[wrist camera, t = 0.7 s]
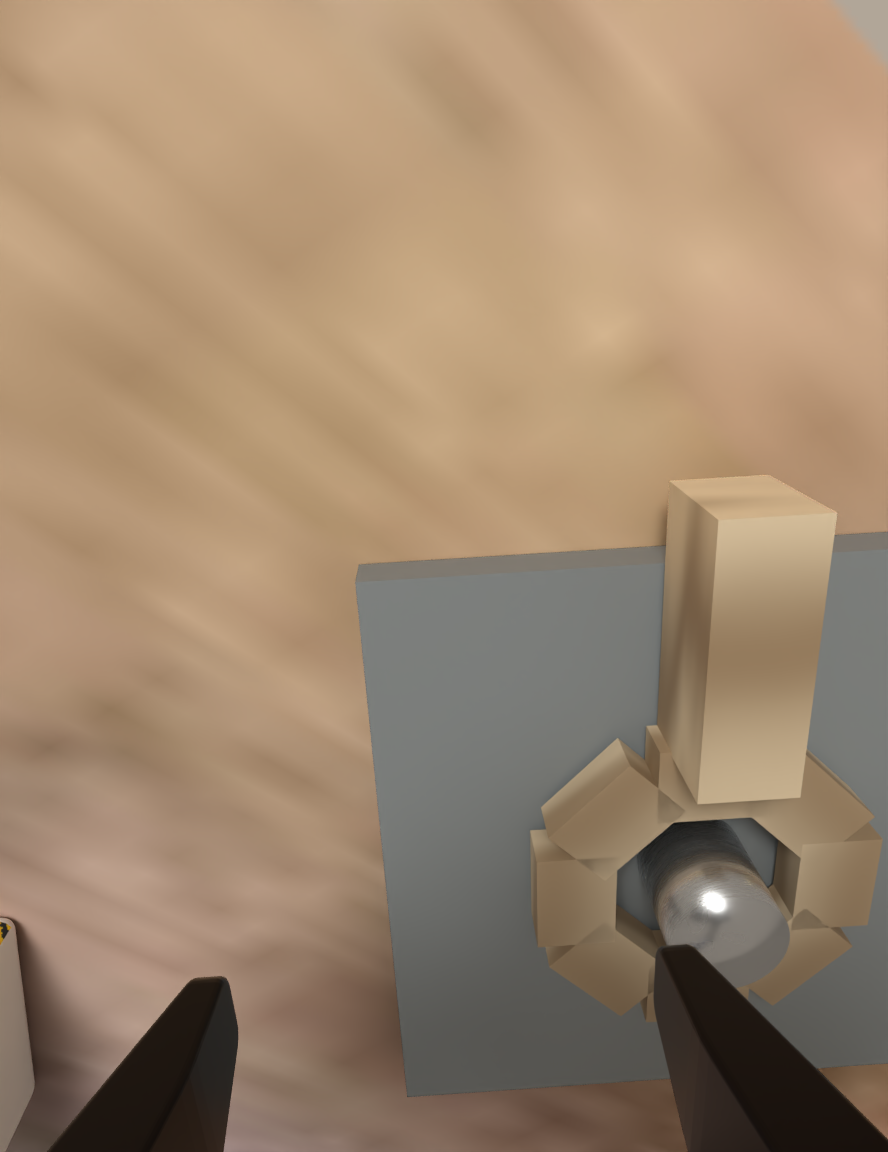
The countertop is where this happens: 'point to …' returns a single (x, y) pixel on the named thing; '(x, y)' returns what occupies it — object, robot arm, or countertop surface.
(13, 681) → the countertop surface
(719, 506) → the ring with handle
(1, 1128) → the printed carton box
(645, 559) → the board
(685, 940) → the grey shiny ball
